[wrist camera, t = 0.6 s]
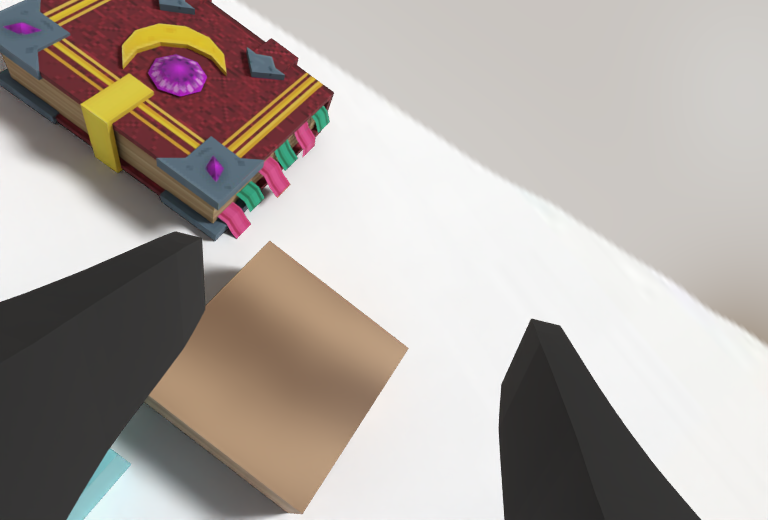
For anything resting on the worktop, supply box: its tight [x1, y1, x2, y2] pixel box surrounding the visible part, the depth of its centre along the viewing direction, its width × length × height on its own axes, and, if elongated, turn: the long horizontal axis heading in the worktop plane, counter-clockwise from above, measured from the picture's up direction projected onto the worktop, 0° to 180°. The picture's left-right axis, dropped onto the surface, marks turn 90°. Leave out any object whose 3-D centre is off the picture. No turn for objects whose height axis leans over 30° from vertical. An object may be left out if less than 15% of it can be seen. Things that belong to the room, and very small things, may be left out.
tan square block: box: [144, 241, 409, 514], centre depth 25 cm, size 9×9×4 cm
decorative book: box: [0, 0, 334, 241], centre depth 29 cm, size 11×16×5 cm
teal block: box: [67, 449, 131, 520], centre depth 19 cm, size 4×4×5 cm
